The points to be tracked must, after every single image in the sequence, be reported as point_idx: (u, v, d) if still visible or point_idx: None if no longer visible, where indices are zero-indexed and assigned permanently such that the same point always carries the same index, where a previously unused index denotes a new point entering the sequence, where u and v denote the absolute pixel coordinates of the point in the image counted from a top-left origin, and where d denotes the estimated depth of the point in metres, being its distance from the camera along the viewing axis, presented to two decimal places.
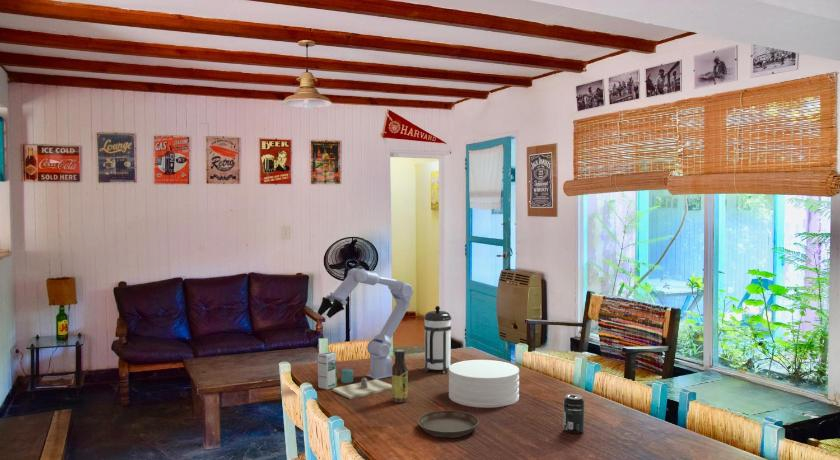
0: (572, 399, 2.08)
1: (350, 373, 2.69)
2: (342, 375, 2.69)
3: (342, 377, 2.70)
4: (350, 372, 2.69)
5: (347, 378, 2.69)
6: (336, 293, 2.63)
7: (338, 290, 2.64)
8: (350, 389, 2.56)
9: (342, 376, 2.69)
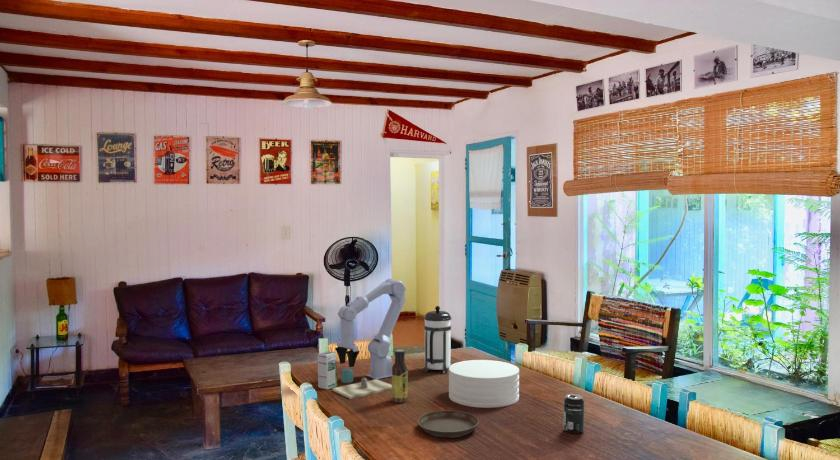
0: (572, 399, 2.08)
1: (350, 373, 2.69)
2: (342, 375, 2.69)
3: (342, 377, 2.70)
4: (350, 372, 2.69)
5: (347, 378, 2.69)
6: (343, 343, 2.68)
7: (343, 339, 2.68)
8: (350, 389, 2.56)
9: (342, 376, 2.69)
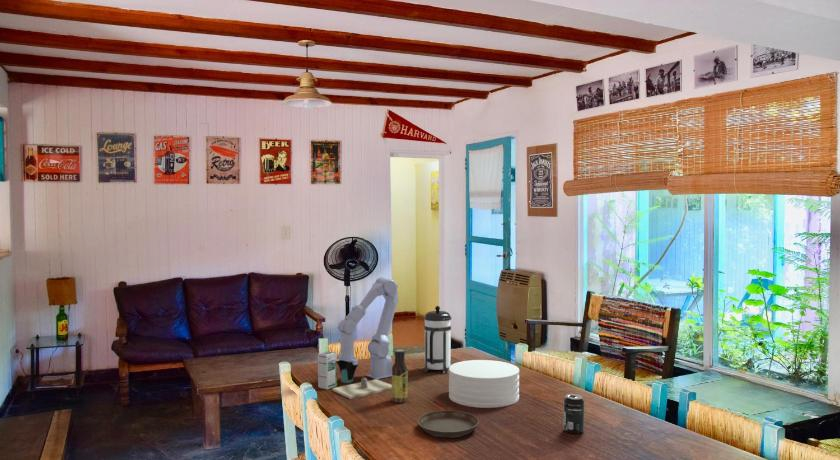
0: (572, 399, 2.08)
1: None
2: (342, 375, 2.69)
3: (342, 377, 2.70)
4: None
5: (347, 378, 2.69)
6: (343, 356, 2.68)
7: (343, 352, 2.68)
8: (350, 389, 2.56)
9: (342, 376, 2.69)
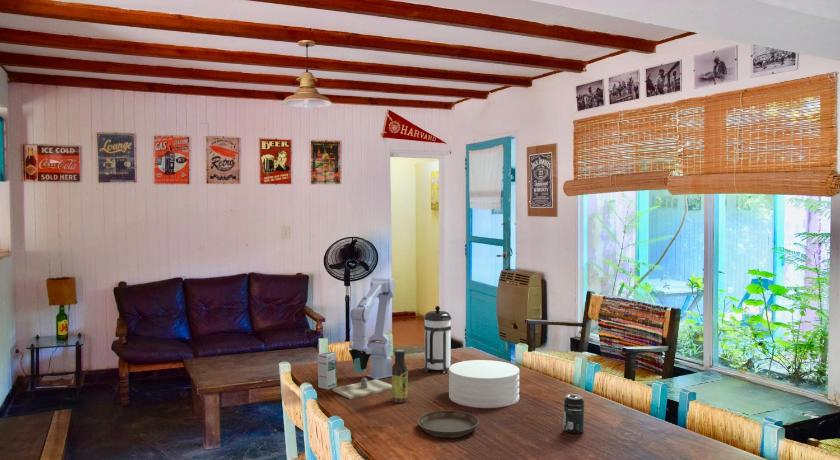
0: (572, 399, 2.08)
1: None
2: (354, 365, 2.59)
3: (354, 367, 2.59)
4: None
5: (360, 368, 2.58)
6: (356, 345, 2.58)
7: (355, 341, 2.58)
8: (350, 389, 2.56)
9: (354, 366, 2.59)
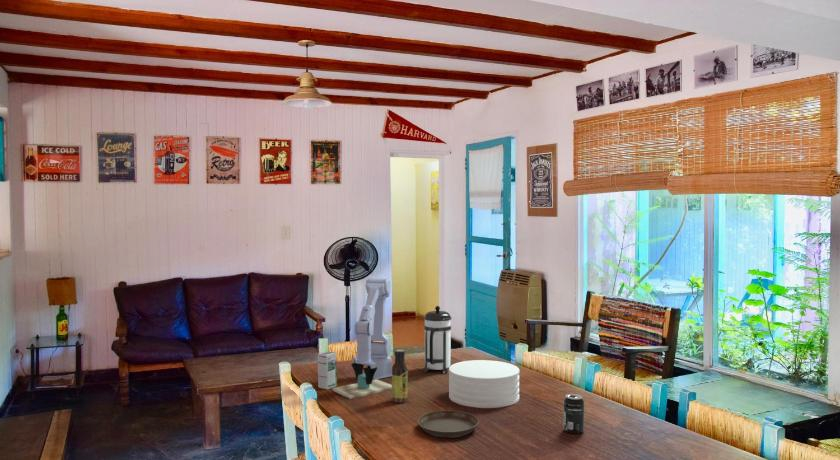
0: (572, 399, 2.08)
1: None
2: (358, 381, 2.57)
3: (358, 383, 2.57)
4: None
5: (364, 384, 2.56)
6: (360, 359, 2.56)
7: (360, 355, 2.56)
8: (350, 389, 2.56)
9: (358, 382, 2.57)
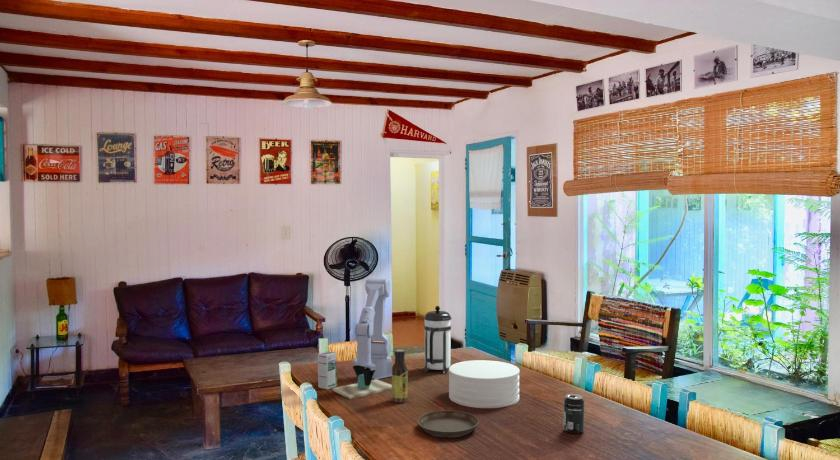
0: (572, 399, 2.08)
1: None
2: (358, 381, 2.57)
3: (358, 383, 2.57)
4: None
5: (364, 384, 2.56)
6: (360, 361, 2.56)
7: (360, 357, 2.56)
8: (350, 389, 2.56)
9: (358, 382, 2.57)
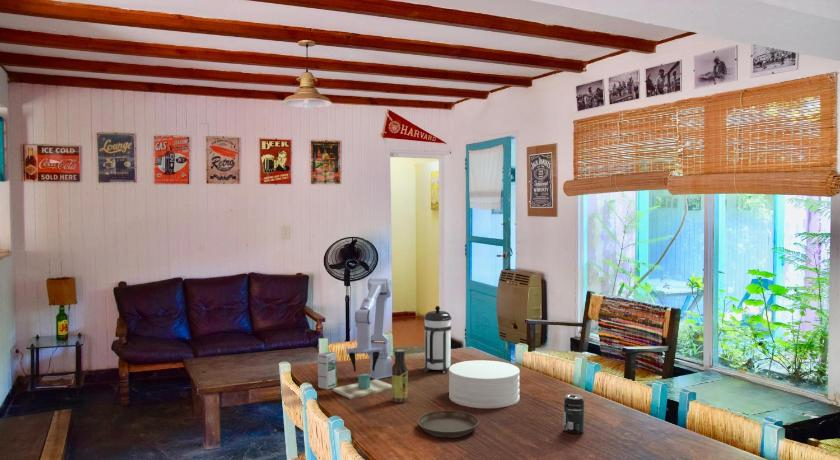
0: (572, 399, 2.08)
1: (369, 377, 2.59)
2: (364, 381, 2.56)
3: (364, 384, 2.56)
4: (369, 376, 2.59)
5: (369, 383, 2.57)
6: (367, 347, 2.56)
7: (366, 344, 2.55)
8: (350, 389, 2.56)
9: (364, 383, 2.56)
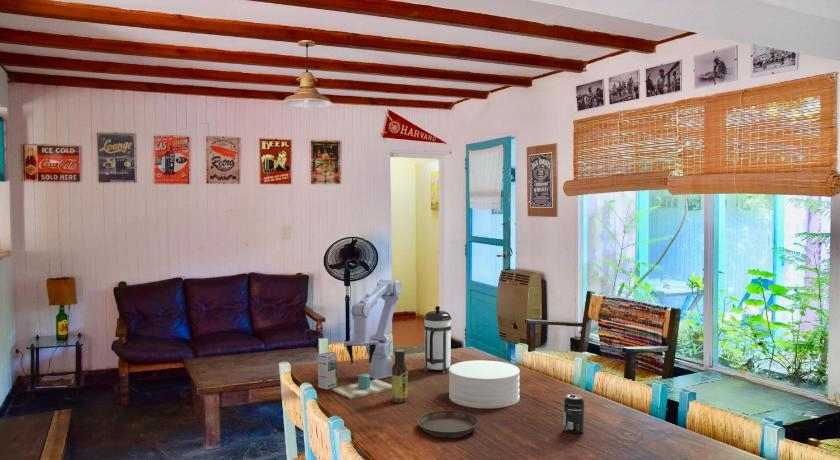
0: (572, 399, 2.08)
1: (369, 377, 2.59)
2: (364, 381, 2.56)
3: (364, 384, 2.56)
4: (369, 376, 2.59)
5: (369, 383, 2.57)
6: (364, 340, 2.63)
7: (363, 336, 2.63)
8: (350, 389, 2.56)
9: (364, 383, 2.56)
